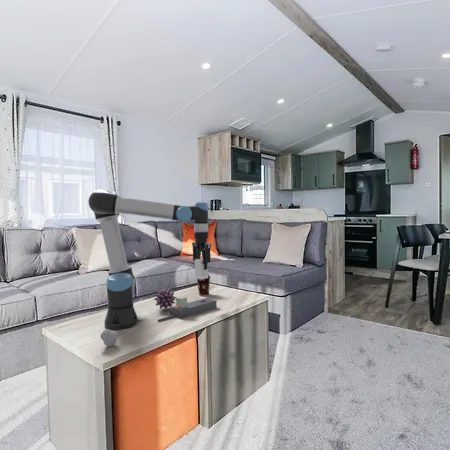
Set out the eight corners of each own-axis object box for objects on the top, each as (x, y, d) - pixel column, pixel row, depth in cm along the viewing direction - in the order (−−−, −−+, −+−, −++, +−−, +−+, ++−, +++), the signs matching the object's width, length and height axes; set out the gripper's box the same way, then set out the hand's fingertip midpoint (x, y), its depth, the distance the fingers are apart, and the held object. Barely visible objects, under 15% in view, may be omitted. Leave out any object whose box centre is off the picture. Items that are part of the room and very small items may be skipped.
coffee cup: (194, 296, 208) (194, 275, 207) (199, 292, 216) (198, 272, 215) (208, 296, 206) (208, 275, 205) (212, 293, 214) (211, 273, 213)
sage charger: (180, 308, 170) (180, 299, 169) (176, 307, 173) (175, 297, 172) (187, 307, 172) (186, 297, 172) (182, 305, 175) (182, 296, 175)
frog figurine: (98, 346, 136) (97, 329, 136) (116, 341, 140) (115, 325, 140) (102, 351, 131) (101, 333, 131) (120, 346, 135) (120, 329, 135)
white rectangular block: (200, 281, 178) (200, 260, 177) (195, 280, 181) (195, 259, 181) (208, 280, 181) (208, 259, 181) (202, 279, 185) (202, 258, 184)
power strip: (162, 323, 160) (162, 313, 160) (153, 319, 166) (153, 310, 166) (216, 307, 183) (216, 299, 183) (207, 304, 189) (207, 296, 189)
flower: (152, 313, 176) (151, 290, 176) (156, 306, 188) (155, 285, 188) (174, 312, 177) (173, 290, 176) (177, 305, 189) (176, 284, 188)
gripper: (217, 231, 176) (217, 276, 177) (196, 230, 189) (197, 271, 190) (206, 232, 171) (206, 278, 172) (185, 231, 184) (186, 273, 185)
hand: (201, 274), depth 181 cm, fingers closed on white rectangular block, 5 cm apart
